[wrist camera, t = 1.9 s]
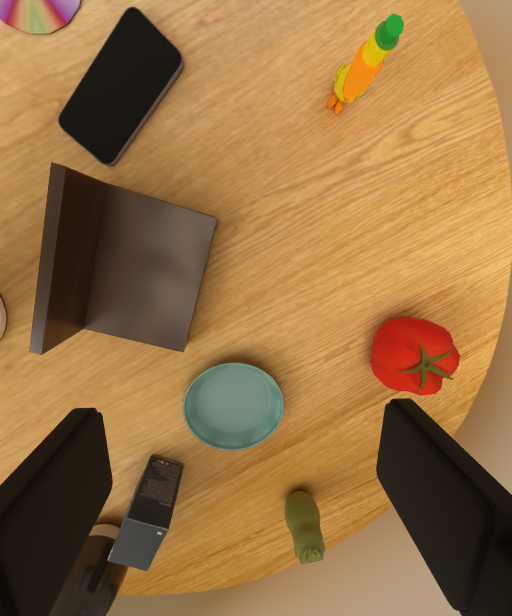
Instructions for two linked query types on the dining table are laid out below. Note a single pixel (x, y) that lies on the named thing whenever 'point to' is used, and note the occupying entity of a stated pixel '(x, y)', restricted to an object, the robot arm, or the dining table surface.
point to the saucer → (233, 406)
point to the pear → (304, 526)
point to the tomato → (413, 355)
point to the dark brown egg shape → (92, 577)
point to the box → (148, 514)
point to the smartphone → (121, 87)
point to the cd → (38, 14)
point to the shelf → (117, 264)
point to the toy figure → (365, 63)
